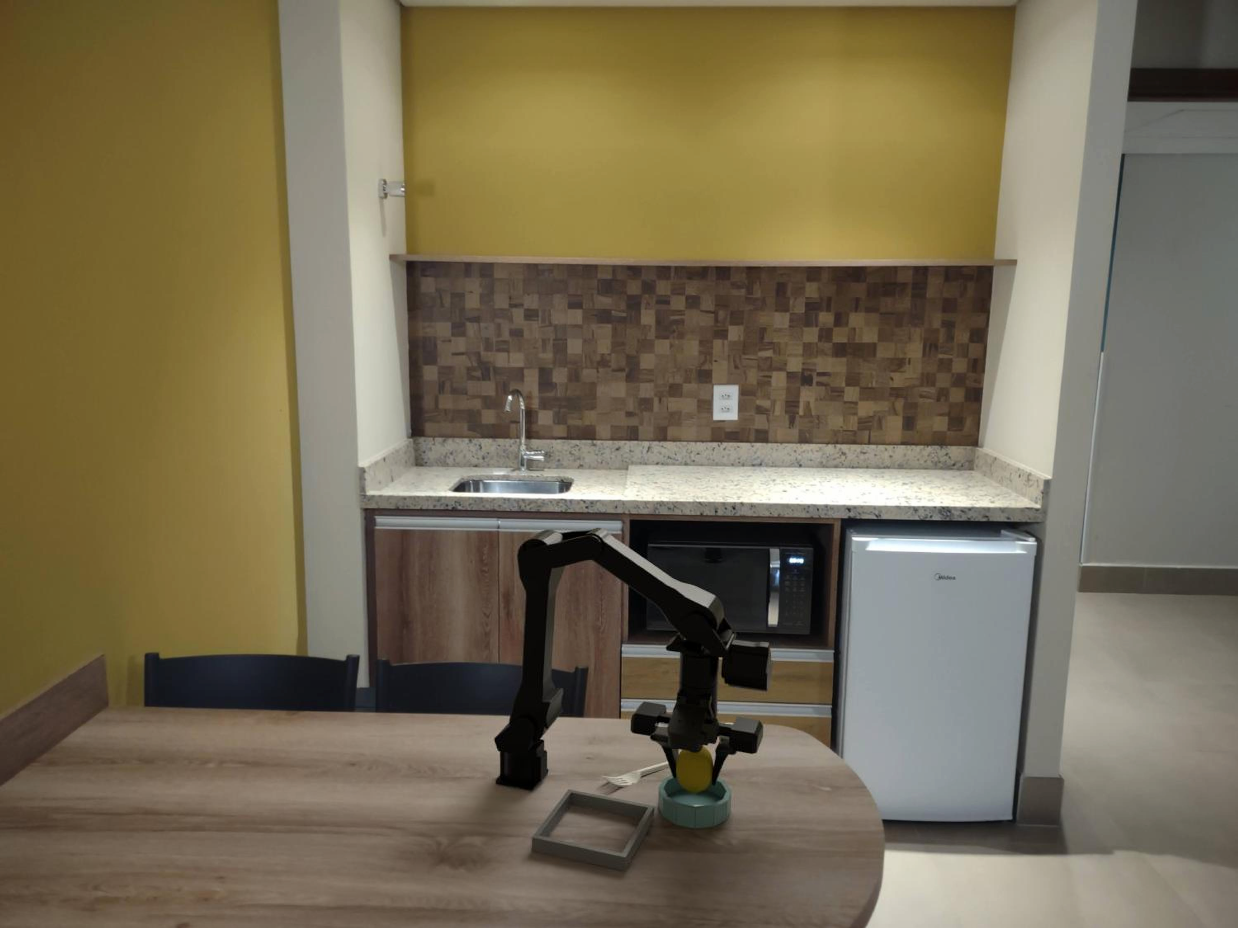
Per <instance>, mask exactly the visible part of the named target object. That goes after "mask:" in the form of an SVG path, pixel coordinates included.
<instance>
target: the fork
mask: <svg viewBox="0 0 1238 928" xmlns="http://www.w3.org/2000/svg"><path fill="white" fill-rule="evenodd" d="M668 768H670V767H669V764H668V761H665V762H661V763H658V764H654V765H651V766H647V767H644V768H640V769H637V770H634V771H630V772H627V773H625V774H622V775H618V776H606V775H605V776H604V775H600V776H601V777H602V778H603V779H605V780H606V781H608V782H609V783H610V784H612V785H614V786H617V787H621V788H627V787H629V786H632V785H633V784H637V783H639V782H640V781H641V778H642V777H643V776H646V775H649V774H652V773H654V772H655V773H656V772H658V771H661V770H664V769H668Z"/></svg>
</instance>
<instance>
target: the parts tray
mask: <svg viewBox="0 0 1238 928" xmlns="http://www.w3.org/2000/svg"><path fill="white" fill-rule="evenodd" d="M571 806H575V807H580V808H585V809H590V810H591V809H592V810H596V811H600V812H605V813H610V814H616V815H619V816H624V817H630V818H635V819H640V821H639V823H638V825H637V826H636V829H635V830H634V832H633V834H632V836H631V838H630V839H629V841H628V842H627V844H626V846H625V848H624V850H623V852H617V851H614V850H613V851H612V850H607V849H603V848H598V847H594V846H590V845H586V844H580V843H575V842H572V841H565V840H561V839H557V838H553V837H549V835H550V834H551V833H552V832H553V830H554V828H556V826H557V825H558V824H559V822H560V821H559V820H561V819H562V817H564V815H565V814H566V812H567V811H568V810H569V809H570V807H571ZM567 809H568V810H567ZM564 813H565V814H564ZM654 820H655V805H650V804H646V803H641V802H638V801H637V802H635V801H631V800H625V799H621V798H616V797H611V796H605V795H601V794H600V795H599V794H594V793H590V792H585V791H580V790H574V789H567V790H566V792H565V793H564V795H563V796H562V797H561V798H560V800H559V801H558V803H557V804H556V805H555V807H553V809H552V810H551V812H549V815H547V816H546V818H545V820H544V821H543V822H542V824H541V825H540V826H539V827H538V829H537V830H536V831H535V833H534V834H533V835H532V837H531V851H532V852H537V853H541V854H544V855H545V854H546V855H551V856H555V857H560V858H564V859H568V860H573V861H577V862H583V863H587V864H592V865H595V866H600V867H604V868H609V869H613V870H614V869H615V870H617V871H618V870H619V871H622V872H626V871H627V869H628V867H629V865H630V864H631V862H632V859H633V857H634V856H635V854H636V852H637V851H638V848H639V847H640V845H641V843H642V842H643V840H644V838H645V836H646V834H647V832H648V831H649V829H650V827H651V825H652V823H653V822H654ZM558 821H559V822H558ZM556 824H557V825H556ZM555 825H556V826H555Z"/></svg>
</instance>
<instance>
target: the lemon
mask: <svg viewBox="0 0 1238 928" xmlns="http://www.w3.org/2000/svg"><path fill="white" fill-rule="evenodd" d="M680 750H681V749H680ZM713 768H714V758H713V756H712V754H711V752H710V751H709V749H708V748H707V747H706V746H705V745H703V748H702V750H701V751H700V752H698V753H692V752H690V751H687V750H681V751H680V752H679V756H678V759H677V764H676V774H677V778H678V781H679V783H680V784H681V786H682V787H683V788H684V789H686V790H688V791H690V792H691V793H692V794H696V793H697V792H700V791H703V790H704V789H706V788H707V787H708V786H709V785H710V783H711V781H712V774H713Z"/></svg>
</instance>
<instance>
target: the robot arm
mask: <svg viewBox="0 0 1238 928" xmlns="http://www.w3.org/2000/svg"><path fill="white" fill-rule="evenodd" d="M516 559H517V568H518V576H519V580H520V582H521V584H522V586H523V589H524V593H525V600H524V602H525V603H524V604H525V607H524V622H523V623H524V625H523V643H522V659H521V661H522V662H521V664H522V665H521V681H520V684H519V687H518V688H517V692H516V694H515V697H514V700H513V702H512V705H511V711H510V713H509V714H510V715H509V719H508V723H507V724H506V725H505V726H504V727H503V728H502V729H501V730H500V732H499V733H498V734H497V735H496V736H494V738H493V740H494V741H493V742H494V744H495V746H496V749H497V751H498V752H499V775H498V777H496V779H495V780H494V781H495V782H494V783H495V785H501V786H505V787H510V788H514V789H515V788H516V789H521V790H525V791H530V792H531V791H534V790H535V789H536V788H537V787H538V785H540V783H541V782H542V781H543V780H544V778H546V777H547V775H548V773H549V768H548V751H547V750H546V749H545V739H542V738H543V736H544V735H545V734H546V733H547V732H548V730H549V729H550V728H551V727H552V726H553V724H554V723H555V722H556V721H557V719H558V717H559V716H560V715H561V714H562V712H564V709H563V706H562V699H563V698H562V697H563V694H564V688H562V687H555V684H554V682H553V679H552V667H553V650H554V649H553V648H554V647H553V646H554V635H555V634H554V633H555V632H554V631H555V616H556V615H555V614H556V613H555V612H556V597H557V595H556V594H557V589H558V587H559V584H560V582H561V580H562V576H563V575H564V571H565V568H566V566H570V565H574V564H578V563H580V562H585V561H592V562H594V563H595V564H597V565H598V566H600V567H601V568H602V569H604V570H606V571H607V572H608V573H610V574H611V575H613V576H614V578H617V579H618V580H620V581H621V582H622V583H623V584H625V585H627V586H628V587H629V588H631V589H632V590H634V591H635V592H636V593H638V594H640V595H641V596H642V597H643V598H645V599H647V600H648V601H649V602H651V603H652V604H654V605H655V606H656V607H657V608H658V609H659V610H660V612H661V613H662V614H663V616H664V617H665V619H666V621H667V622H668V623H669V625H671V626H672V627H673V628H674V629H675V630H676V631H677V634H676V635H675V636H673V637H672V638H671V639H670V640H669V642H668V643H667V645H666V647H665V650H666V651H667V652H673V653H679V665H678V689H677V690H678V691H677V692H676V694H677V695H676V700H675V701H676V702H675V704H674V706H673V709H672V713H671V714H669V713H667V711H668V710H667V706H666V704H664V703H663V704H662V703H657V702H650V701H643V702H642V703H640V704H639V705H638V707H637V708H636V710H635V711H634V712H633V713H632V716H631V718H630V732H631V733H632V734H635V735H641V736H647V737H649V739H650V741H652V742H656V743H657V744H658V745H659V746H660V747H661V749H662V751H663V753H664V756H665V757H666V758H665V759H666V762H668V764H669V767H668V768H669V770H670V772H671V775H672V776H673V778H676V777H677V774H676V764H677V759H678V756H679V754H680V752H679V751H680V750H687V751H690V752H692V753H698V752H700V751H701V750H702V748H703V746H705V747H706V746H707V747H708V745H709V744H712V745H716V743H717V740H719V741H718V744H717V746H716V747H715V749H714V752H715V753H714V754H715V756H714V757H715V758H714V761H713V765H714V768H713V774H712V785H714V786H715V784H716V782H717V779H718V778H719V776H720V774H721V772H722V769H723V766H724V763H725V761H726V760H727V758H728V756H729V755H730V756H735V755H736V754H737V753H744V754H748V755H754V754H757V753H758V750H759V748H760V745H761V743H762V741H763V738H764V724H763V723H762V722H761V720H759V719H754V718H750V717H749V718H748V717H741V716H736V717H735V720H734V722H724V723H723V722H720V721H719V720H718V710H719V709H718V698H719V697H718V696H719V683H720V682H719V678H720V677H719V675H720V674H721V679H723V681H724V682H723V683H724V684H725V685H727V686H728V687H729V688H737V689H744V690H750V691H751V690H753V691H758V692H766V693H769V690H770V688H771V687H770V686H771V680H772V676H773V675H772V674H773V660H772V651H771V643H770V642H767V641H755V642H754V641H749V640H739V639H736V637H737V632H736V631H735V630H734V628H733V626H732V625H731V624H730V622H729V620H728V619H727V618H726V616H725V610H724V607H723V603H722V601H721V600H720V599H719V597H717V596H716V595H715V594H713V593H711V592H709V591H706V590H705V589H704V588H703V589H702V588H700V587H698V586H696V585H693V584H689V583H686V582H681V581H679V580H677V579H675V578H673V577H672V576H670V575H669V574H667V573H666V572H664V571H663V570H662V569H660V568H659V567H657V566H656V565H654V564H653V563H651V562H650V561H649V560H647V559H646V558H644V557H642V556H641V555H640V554H638V553H637V552H635V551H634V550H633V549H631V548H630V547H629V546H627V545H626V544H624V543H623V542H621V541H620V540H619V539H617V538H615V537H614V536H612V534H611V533H610V531H608V530H607V529H605V528H603V527H595V528H593V529H588V530H586V529H585V530H570V531H565V532H559V531H557V530H554V529H545V530H541V531H539V532H538V533H536V534H535V535H533V536H531V537H529V538H528V539H526V540H525V541H523V543H522V544H521V545H520V546H519V548H518V550H517V554H516ZM720 658H721V669H720ZM720 670H721V671H720ZM719 671H720V672H719ZM719 673H720V674H719ZM718 737H719V738H718Z"/></svg>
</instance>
